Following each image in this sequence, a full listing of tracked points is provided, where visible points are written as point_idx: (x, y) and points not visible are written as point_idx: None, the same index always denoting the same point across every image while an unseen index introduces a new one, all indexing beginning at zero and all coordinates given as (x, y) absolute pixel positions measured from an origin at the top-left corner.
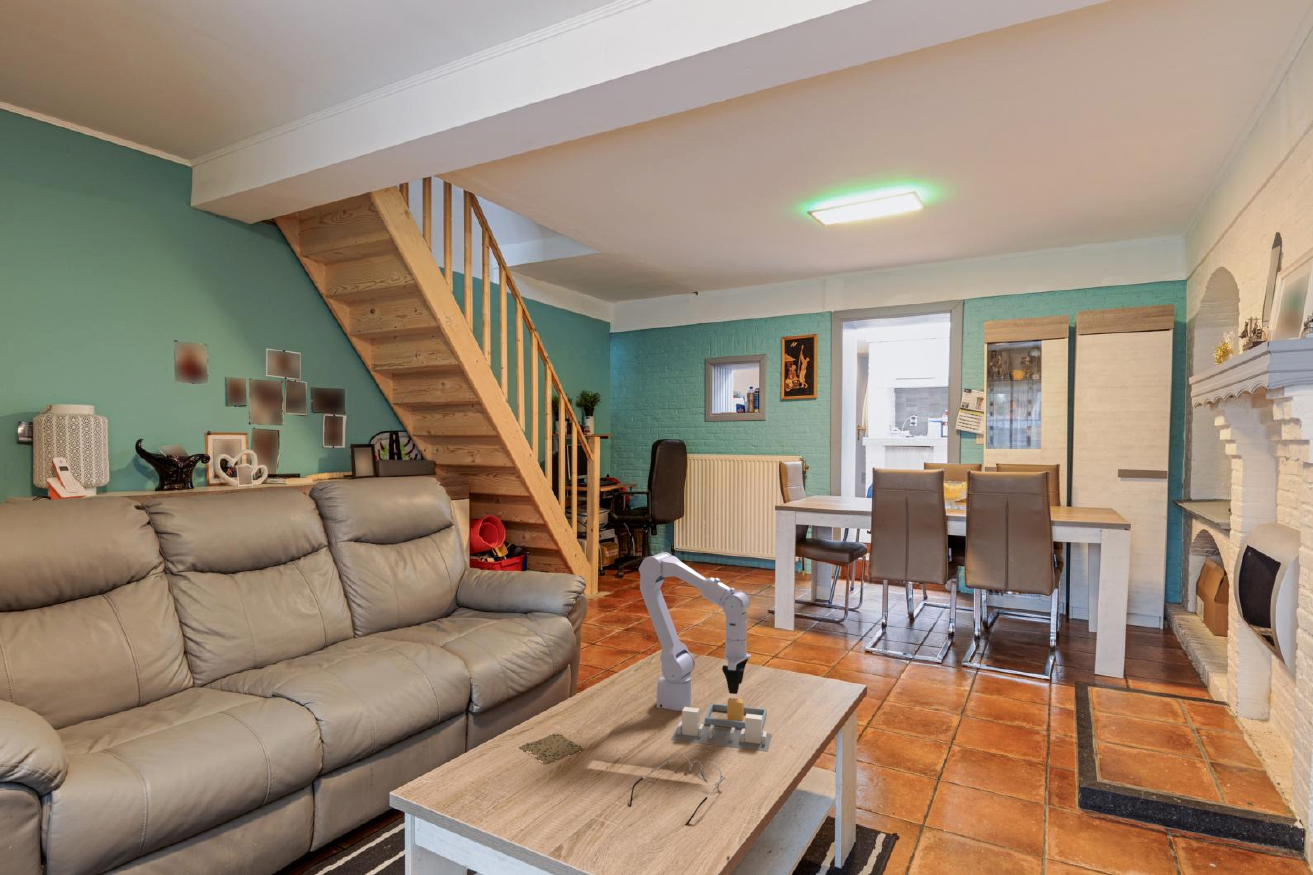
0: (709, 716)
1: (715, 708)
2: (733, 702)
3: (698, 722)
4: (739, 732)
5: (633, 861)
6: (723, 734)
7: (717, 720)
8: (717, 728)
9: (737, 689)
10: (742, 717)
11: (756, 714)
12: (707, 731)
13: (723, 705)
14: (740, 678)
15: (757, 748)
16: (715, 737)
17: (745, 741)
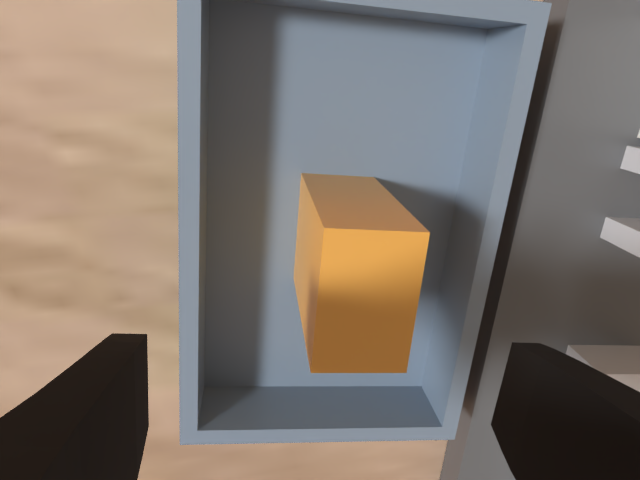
0: (353, 409)
1: (201, 395)
2: (415, 318)
3: None
4: (560, 190)
5: None
6: (588, 288)
7: (468, 359)
8: (502, 333)
9: (590, 373)
10: (378, 191)
11: (206, 70)
12: None
13: (197, 359)
14: (128, 392)
15: None
16: (628, 327)
17: None
